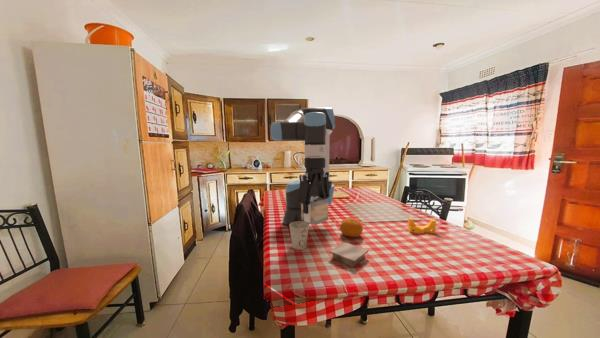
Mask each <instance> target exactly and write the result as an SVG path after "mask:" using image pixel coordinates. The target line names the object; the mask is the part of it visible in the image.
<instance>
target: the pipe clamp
mask: <svg viewBox="0 0 600 338" xmlns="http://www.w3.org/2000/svg"><path fill="white" fill-rule="evenodd" d="M407 219H408V221H407V231H409V233H416V234H425V233H428V234H429V233H430V234H436V227H437V220H436V219H431V218H430V220H429V222H428V223H427V224H426V225H418V224H416V223H415V221H414V220H415V219H414V218H413V217H408V218H407Z"/></svg>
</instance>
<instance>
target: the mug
mask: <svg viewBox="0 0 600 338" xmlns="http://www.w3.org/2000/svg"><path fill="white" fill-rule="evenodd" d="M309 224H310V223H309ZM309 224H308V223H307V222H303V221H296V222H292V223H290V225H289V226H288V227H289V233H290V239H291V240H290V241H291V246H292V248H293V249H294V250H304V249H306V248H307V243H308V235H309V228H310V227H309V226H310V225H309Z"/></svg>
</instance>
